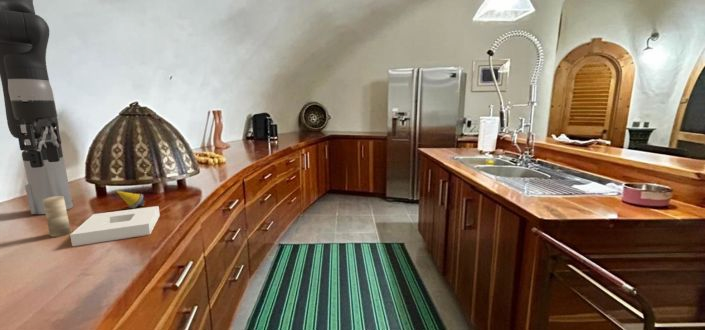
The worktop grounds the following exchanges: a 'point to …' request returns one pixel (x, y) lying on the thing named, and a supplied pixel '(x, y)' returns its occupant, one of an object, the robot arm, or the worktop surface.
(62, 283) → the worktop surface
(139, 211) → the socket board
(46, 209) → the wooden peg
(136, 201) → the drill bit
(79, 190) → the worktop surface
